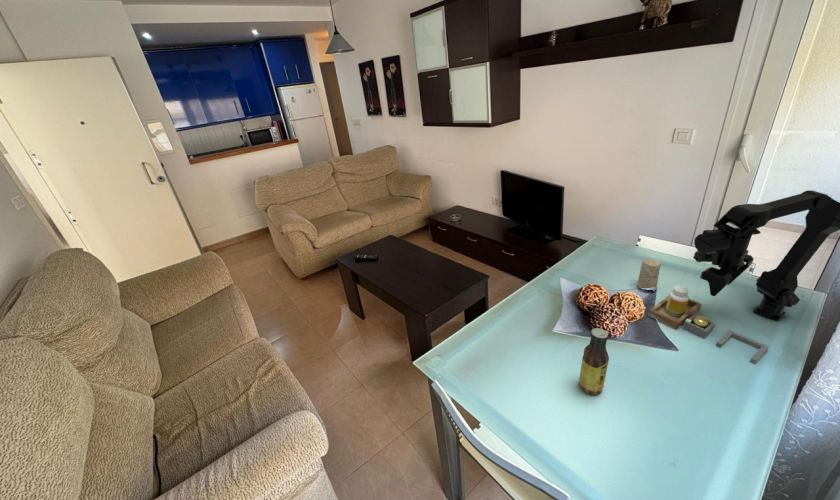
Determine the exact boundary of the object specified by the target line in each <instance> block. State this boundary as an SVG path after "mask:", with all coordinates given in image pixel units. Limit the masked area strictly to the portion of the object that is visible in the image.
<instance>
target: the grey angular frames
mask: <svg viewBox="0 0 840 500" xmlns="http://www.w3.org/2000/svg"><path fill="white" fill-rule="evenodd" d="M695 316H698V315H697V314H694V315H692V316H691V317H690V318H689V319H686V321H685V323H684V324H683V327H682V329H683V330H685V331H687V332H688V333H691V334H693V335H695V336H697V337H700V338H702V339H706V338H707V337H708V336H709V335H710V334H711V333H712V332H713V331H714V329H715V326H716V323H715V322H714V321H711V320H709V319H708V324H707V327H706V329H704V328H701V327H699V326H697V325H695V324H692V323H693V320H694V317H695ZM731 338H732V339H735V340H738V341H740V342H742V343H745V344H746V345H748V346H749V345H750V346H751V347H754V348H756V349H758V350H757V351H756V352H755V353H754V354H753V356H751V358H750V360H749V362H750V363H751V364H754V365H756V364H757V362H759V360H760V359H761V358H762V357H763V355H764V354H766V352H767V351H768V349H769V348H770V346H769V345H766V344H764V343H761V342H759V341H757V340H755V339H752V338H750V337H747V336H745V335H743V334H740V333H738V332H735V331H733V330H731V329H729V330H728V331H727V332H726V333H725V334H724V335H723V336H722V337H721V338H719V340H718V341H717V342H716V344H715V347H716V348H719V349H721V348H722V347H723V346H724V345H725V344H726V343H727V342H728V341H729V340H730V339H731Z"/></svg>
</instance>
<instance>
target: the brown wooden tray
mask: <svg viewBox="0 0 840 500" xmlns="http://www.w3.org/2000/svg"><path fill="white" fill-rule="evenodd" d="M668 298H669V295H668V296H666V297H665V298H664V299H662V300H661V301H660V302H658V303H656V304H655V305H653V306H652V308H650V309H649V310H648V313H652V314H653V315H654V316H655V318H656V319H657V320H658V321H657V322H658V323H661V324H662V325H665V326H667V327H669V328H671V329H674V330H676V331H677V330H678V329H679V328H680V327H681V326H682V325H683V326H684V323H685V321H686V319H689V318H690V317H691V316H692V315H694V314H695V315H697V313H698V312H699V311H700V310H701V308H702V305H703V303H702V302H699V301H696V300H693V299H691V298H689V300H688V303H687V306H686V309H685V313H684V315H682V316H673V315H670V314H669V313H667V312H666V310H665V308H666V305H667V301H668Z"/></svg>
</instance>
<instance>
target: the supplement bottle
mask: <svg viewBox="0 0 840 500" xmlns="http://www.w3.org/2000/svg"><path fill="white" fill-rule="evenodd" d="M672 290H673V291H670V292H669V294H668V296H669V298H668V301H667V305H666V308H665V310H666V312H667V313H669V314H670V315H673V316H682V315H684V313H685V309H686V306H687V303H688V300H689V299H690V296H689V295H688V294H689V289H688V288H686V287H685V286H683V285H675V286H674V287H673V289H672Z"/></svg>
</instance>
